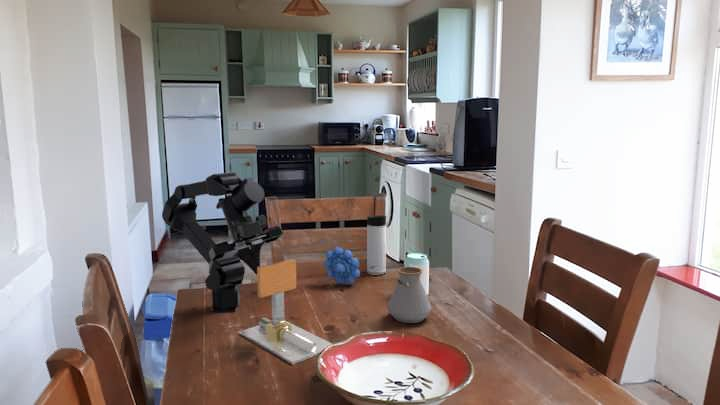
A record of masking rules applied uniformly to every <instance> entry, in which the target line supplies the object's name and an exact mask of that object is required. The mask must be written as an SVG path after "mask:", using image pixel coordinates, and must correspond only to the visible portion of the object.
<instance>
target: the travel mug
mask: <svg viewBox="0 0 720 405" xmlns="http://www.w3.org/2000/svg"><path fill="white" fill-rule="evenodd" d="M366 226H367V227H366V231H367V232H366V238H367V240H366V243H367V244H366V252H367V253H366V263H367V264H366V267H367V268H366V269H367V270H366V273H367V274H368V275H369V274H384V273H385V272H386V273H387V269H386V268H387V215H383V214H381V215H379V214H378V215H374V216H369V215H368V216H367V225H366ZM386 273H385V274H386ZM385 274H384V275H385Z"/></svg>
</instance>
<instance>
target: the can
mask: <svg viewBox="0 0 720 405" xmlns="http://www.w3.org/2000/svg"><path fill="white" fill-rule="evenodd" d="M404 267H416V268H420V269H422V273H421V275H420V280H421V282H422V285H423V287H424V290H425V292H426V295H427V296H428V295H429V292H430V291H429V288H430V286H429V284H430V283H429V282H430V280H429V276H430V261H429V258H428V255H427V254H425V253H420V252H417V253H416V252H413V253H407V255H406V258H405V260H404Z"/></svg>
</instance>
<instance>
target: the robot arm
mask: <svg viewBox="0 0 720 405" xmlns="http://www.w3.org/2000/svg"><path fill="white" fill-rule="evenodd" d="M205 195H209V196H211V197H219V196H225V197H221V198H219V199H218V202H217V204H216V206H215V207H216V210H219V209H221V210H222V213H223V215H224V219H225V221H226V224H227V230H228V231H229V232H230V235H231V238H232V240H233V241H232V242H230V243H229V242H228V241H227V240H226V241H222V242H218V243H216V242H215V241H214V239H212V237H210V235H209V234H208V233H207V232H206V230H204V228H203V227H202V226H201V225H200V224H199V223H198V222H197V212H196V211H197V209H198V204H197V201H196V197H199V196H205ZM264 198H265V190H264V188H263V187H262V186H261V185H260V184H259V183H257V182H256V181H254V180H253V178H252V177H247V178H244V179H243V180H242V179H241V178H240V177H239V176H238V175H237V174H236V172H234V171H233V172H223V173H222V172H221V173H214V174H211V175H209V176H207V177H206V178H205V179H204V180H203V181H198V182H192V183H188V184H180V185H177V186H176V187H175V188H174V192H173V194H172V195H171V196H170V197H169V198H168V199H167V200H166V201H165V202H164V203H165V204H164V207H163V209H162V213H161V217H162V220H163V221H164V223H165V224H166V225H167V226H168V227H170V229H172V230H175V231H176V232H177V231H178V232H180V233H182V234H183V235H184V236H185V237H186V239H187V240H188V241H189V243H190V244H191V245H192V246H193V247H194V248H195V249H196V250H197V252H198V253H199V254H200V255H201V256H202V258H203V259H204V260H205V261H206V263H207V264H208V276H207V278H206V279H205V280H204V283H205V287H206V289H208V290H210V291H211V296H212V300H211V301H212V308H211V310H210V312H211V313H213V312H214V313H217V312H218V313H219V312H221V313H222V312H224V313H225V312H236V310H237V309H238V307H239V306H240V303H241V300H240V298H241V296H240V290H239V289H238V286H239V285H242V284H243V282H244V277H245V272H246V270H245V265H246V266H248V268H249V269H250V270H251V271H252V272H253V273H254V274H256V275H257V267H260V266H261V249H262V248H263V246H265V243H266V244H269V243H273V242H275V241H278V240H279V239H281V238H282V236H284V231H283V228H282V227H280V226H279V225H275V226H272V227H269V228H268V221H267V219H266V216H265V214H261V215H258V216H257V215H256V216H255V219H254V220H253V218H252V216H251V215H249V213H248V211H250V210H251V209H252V208H254V207H255V206H256V205H258V204H260V203H261V202H262V201H263V200H264ZM186 199H189V200H188V202H184V203H181V202H182V201H183V200H186ZM265 228H266V229H265ZM263 229H265V230H263ZM243 263H244V264H245V265H244V264H243Z"/></svg>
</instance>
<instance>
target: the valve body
mask: <svg viewBox="0 0 720 405" xmlns="http://www.w3.org/2000/svg"><path fill="white" fill-rule="evenodd" d="M239 335H241V336H243V337H245V338H246V339H248V340H250V341H251V342H253V343H255V344H257V345H258V346H259V347H262V348H264V349H265V350H267V351H269V352H270V353H272V354H274V355H275V356H277V357H279V358H280V359H282V360H284V361H285V362H287V363H289V364H291V365H295V364H297V363H301V362H303V361H306V360H308V359H311V358H314V357H315V356H319V355H320V354H319V353H320V352H321V351H322V350H323V349H324V348H326V347H327V346H329V345H332V344H333V343H331V342H329V341H327V340H325V339H324V338H321V337H319V336H317V335H315V334H313V333H312V332H309V331H307V330H305V329H303V328H301V327H299V326H297V325H296V324H293V323H292V322H288V321H286V320H285V322H283V323H280V324H277V325H273V324H272V319H271V320H270V319H269V318H266V317H261V318H260V319H259V321H258V325H256V326H252V327H248V328H246V329H243V330H239ZM318 354H319V355H318Z"/></svg>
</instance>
